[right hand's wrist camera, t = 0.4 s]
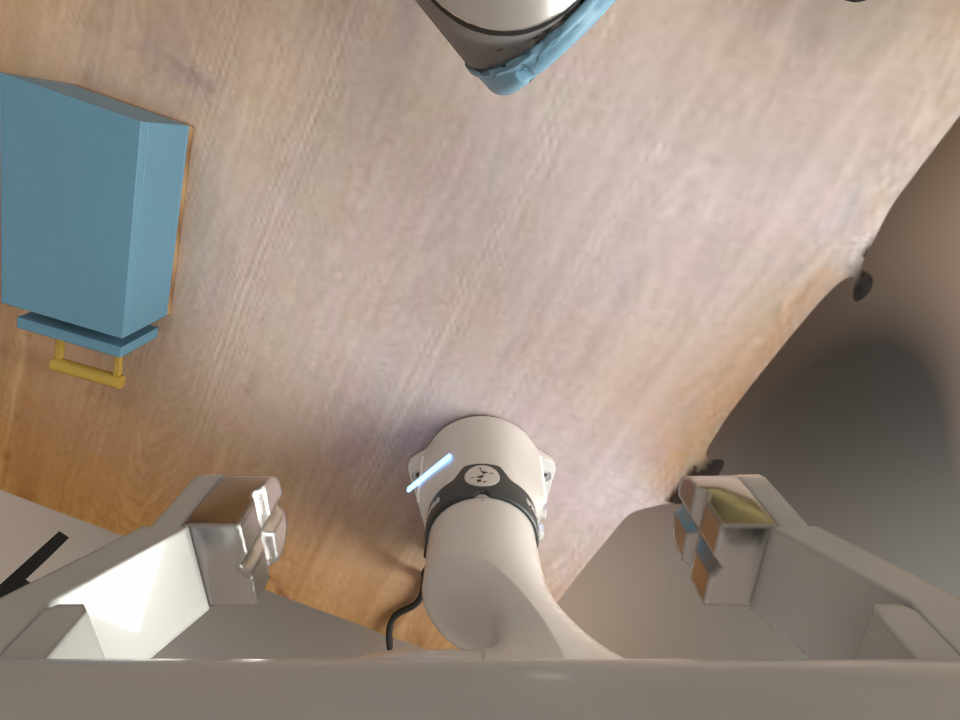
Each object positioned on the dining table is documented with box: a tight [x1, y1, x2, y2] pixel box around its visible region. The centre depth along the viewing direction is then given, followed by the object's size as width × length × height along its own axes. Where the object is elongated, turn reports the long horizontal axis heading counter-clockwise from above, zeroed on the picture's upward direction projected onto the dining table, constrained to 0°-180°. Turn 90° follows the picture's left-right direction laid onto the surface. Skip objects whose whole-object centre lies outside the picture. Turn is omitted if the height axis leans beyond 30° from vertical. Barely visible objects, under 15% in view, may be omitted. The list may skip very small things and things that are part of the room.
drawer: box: [17, 312, 158, 389], centre depth 52 cm, size 25×10×6 cm, turn 161°
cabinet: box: [0, 73, 194, 338], centre depth 50 cm, size 21×11×9 cm, turn 161°
